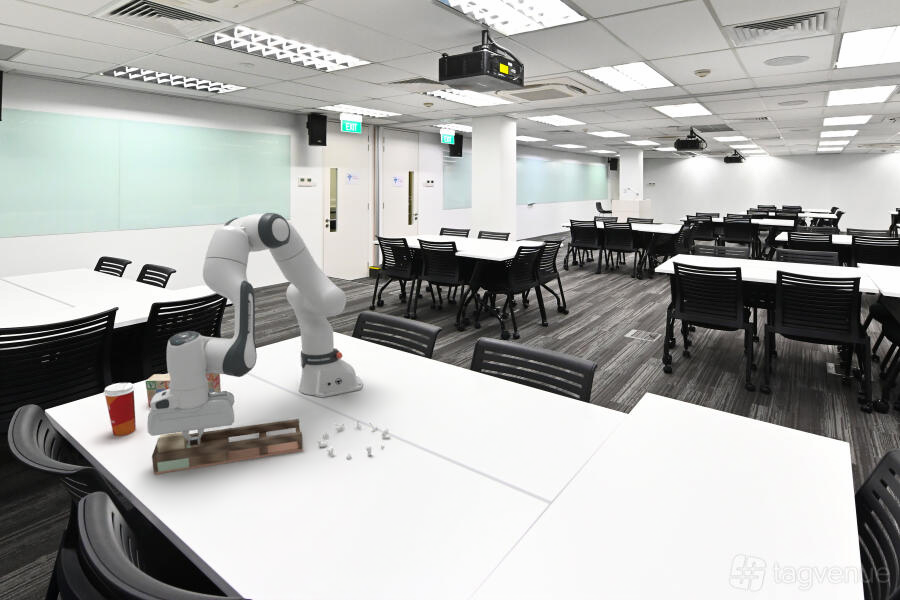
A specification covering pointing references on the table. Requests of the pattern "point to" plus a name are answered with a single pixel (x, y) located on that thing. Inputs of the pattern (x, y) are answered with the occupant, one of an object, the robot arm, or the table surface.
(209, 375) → the stack of blocks
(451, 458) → the table surface
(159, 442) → the maple block
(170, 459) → the track
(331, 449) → the game piece set
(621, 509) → the table surface
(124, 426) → the paper cup
